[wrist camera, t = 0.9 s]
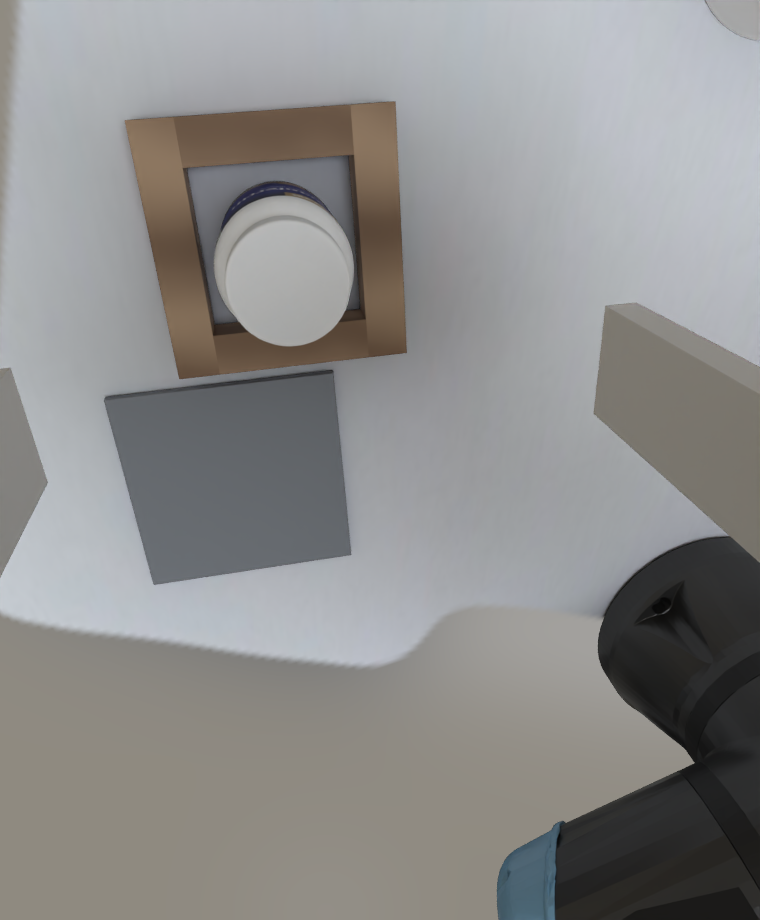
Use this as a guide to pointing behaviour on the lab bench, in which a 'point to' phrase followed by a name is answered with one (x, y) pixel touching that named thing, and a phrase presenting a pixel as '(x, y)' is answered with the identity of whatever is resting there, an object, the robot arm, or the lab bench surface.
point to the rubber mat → (234, 474)
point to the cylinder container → (738, 16)
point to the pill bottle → (283, 264)
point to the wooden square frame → (259, 140)
